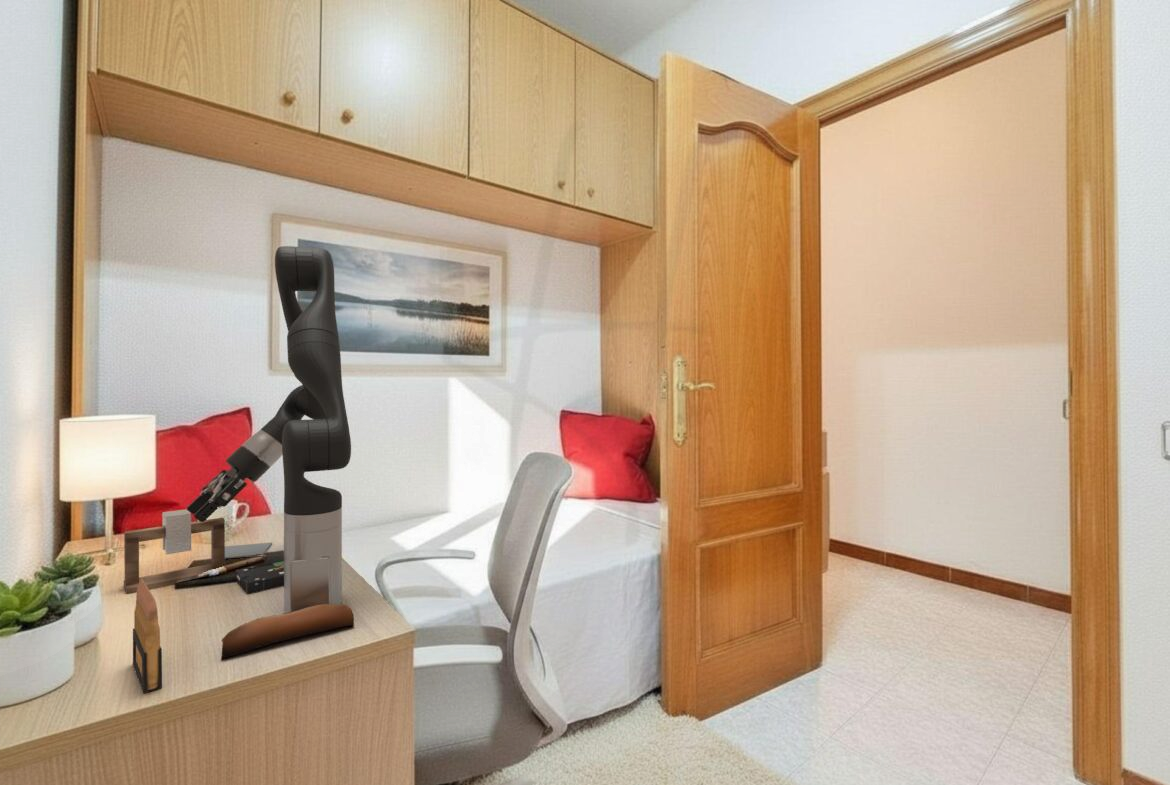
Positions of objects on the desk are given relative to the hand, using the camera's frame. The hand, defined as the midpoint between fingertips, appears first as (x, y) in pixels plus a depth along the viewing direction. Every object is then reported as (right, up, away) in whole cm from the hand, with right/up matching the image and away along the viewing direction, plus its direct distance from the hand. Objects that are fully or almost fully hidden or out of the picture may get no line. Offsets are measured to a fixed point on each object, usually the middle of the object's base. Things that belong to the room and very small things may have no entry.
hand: (193, 515), depth 110 cm
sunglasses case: (+34, -13, -26) cm, 45 cm away
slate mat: (0, -12, +16) cm, 20 cm away
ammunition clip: (+22, -13, -38) cm, 46 cm away
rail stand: (-2, -12, -2) cm, 13 cm away
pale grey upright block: (-2, -6, -2) cm, 7 cm away
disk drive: (+19, -13, -1) cm, 23 cm away
